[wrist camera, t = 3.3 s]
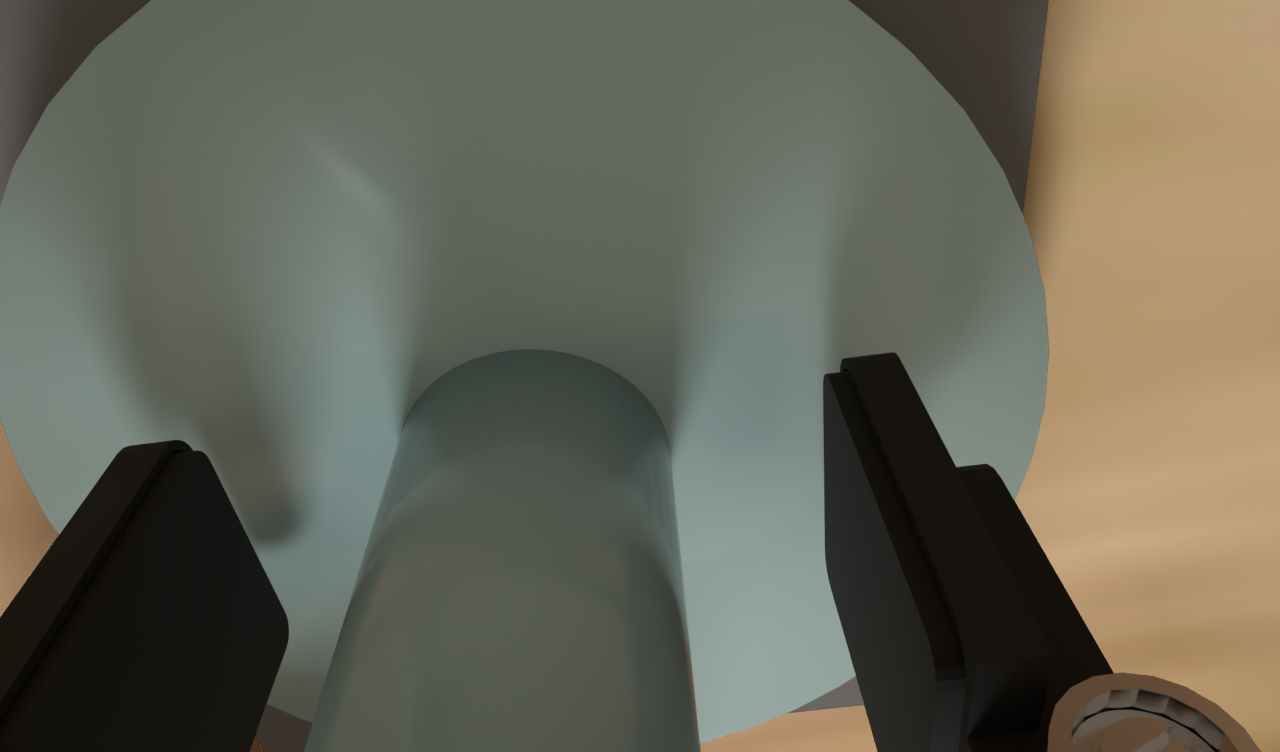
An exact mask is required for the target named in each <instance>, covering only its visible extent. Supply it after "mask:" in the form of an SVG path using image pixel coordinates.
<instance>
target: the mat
mask: <svg viewBox="0 0 1280 752" xmlns="http://www.w3.org/2000/svg"><path fill="white" fill-rule="evenodd" d="M150 1H151V0H0V205H1V202H2V199H3V196H4V193H5V190H6V187H7V184H8V181H9V178H10V175H11V172H12V169H13V166H14V165H15V163H16V161H17V159H18V157H19V156H20V154H21V152H22V150H23V148H24V147H25V145H26V143H27V141H28V139H29V138H30V136H31V134H32V132H33V130H34V129H35V127H36V125H37V123H38V121H39V120H40V118H41V116H42V114H43V112H44V111H45V109H46V107H47V105H48V104H49V103H50V102H51V100H52V99H53V98H54V97H55V96H56V94H57V93H58V92H59V91H60V90H61V88H62V87H63V86H64V85H65V83H66V82H67V81H68V80H69V79H70V77H71V76H72V75H73V74H74V73H75V71H76V70H77V69H78V68H79V67H80V65H81V64H82V63H83V62H84V61H85V59H86V58H87V57H88V56H89V55H90V53H91V52H92V51H93V50H94V48H95V47H96V46H97V45H99V44H100V43H101V42H102V41H103V40H105V39H106V38H107V37H108V36H109V35H111V34H112V33H113V32H114V31H115V30H116V29H118V28H119V27H120V26H121V25H122V24H124V23H125V22H126V21H127V20H128V19H130V18H131V17H132V16H133V15H134V14H135V13H137V12H138V11H139V10H140V9H141V8H143V7H144V6H145V5H146V4H147V3H149V2H150ZM851 1H852V2H853V3H854V4H856V5H857V6H858V7H859V8H861V9H862V10H863V11H864V12H865V13H867V14H868V15H869V16H870V17H872V18H873V19H874V20H875V21H877V22H878V23H879V24H880V25H881V26H882V27H884V28H885V29H886V30H887V31H888V32H889V33H890V34H891V35H893V36H894V37H895V38H896V39H897V40H898V41H899V42H900V43H902V44H903V45H904V46H905V47H906V48H907V49H908V50H909V51H911V52H912V53H913V54H914V55H915V57H916V58H917V59H918V60H919V61H920V62H921V63H922V64H923V65H924V66H925V68H926V69H927V70H928V71H929V72H930V73H931V74H932V75H933V76H934V77H935V79H936V80H937V81H938V82H939V83H940V84H941V85H942V86H943V87H944V88H945V90H946V91H947V92H948V93H949V94H950V95H951V96H952V97H953V98H954V100H955V101H956V102H957V103H958V104H959V105H960V106H961V107H962V108H963V109H964V111H965V112H966V114H967V115H968V117H969V118H970V120H971V121H972V123H973V125H974V126H975V128H976V129H977V131H978V132H979V134H980V135H981V137H982V138H983V140H984V141H985V143H986V145H987V146H988V148H989V149H990V151H991V152H992V154H993V155H994V157H995V158H996V160H997V162H998V163H999V165H1000V166H1001V168H1002V169H1003V171H1004V173H1005V176H1006V178H1007V180H1008V183H1009V185H1010V187H1011V189H1012V192H1013V194H1014V196H1015V199H1016V201H1017V203H1018V206H1019V208H1020V210H1021V212H1022V214H1023V206H1024V197H1025V189H1026V181H1027V173H1028V165H1029V157H1030V148H1031V140H1032V132H1033V124H1034V116H1035V108H1036V99H1037V91H1038V83H1039V75H1040V67H1041V59H1042V50H1043V42H1044V34H1045V26H1046V18H1047V10H1048V2H1049V0H851ZM858 705H864V702H863V699H862V695H861V692H860V688H859V685H858V681H857V678H856V676H855V677H853V678H852V679H850V680H849V681H847V682H846V683H844V684H843V685H841V686H839V687H837V688H836V689H834V690H832V691H830V692H828V693H826V694H824V695H822V696H820V697H818V698H816V699H815V700H813V701H811V702H809V703H807V704H805V705H803V706H801V707H799V708H797V709H795V710H793V711H790V712H788V713H794V712H803V711H812V710H821V709H830V708H840V707H849V706H858ZM311 726H312V723H311V722H308V721H306V720H303V719H300V718H298V717H296V716H293V715H291V714H289V713H287V712H284V711H282V710H280V709H278V708H275V707H273V706H271V705H269V704H266V707H265V710H264V712H263V715H262V718H261V721H260V723H259V726H258V729H257V732H256V737H257V739H258V740H259V742H260V744H261V746H262V747H263V749H264V751H265V752H304V749H305V746H306V743H307V740H308V736H309V733H310V730H311Z"/></svg>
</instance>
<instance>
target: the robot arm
mask: <svg viewBox="0 0 1280 752" xmlns="http://www.w3.org/2000/svg"><path fill="white" fill-rule="evenodd" d="M823 430H824V523H825V560H826V568H827V574H828V579H829V583H830V587H831V591H832V594H833V598H834V601H835V605H836V608H837V612H838V615H839V619H840V622H841V626H842V629H843V633H844V636H845V639H846V643H847V646H848V650H849V653H850V657H851V660H852V664H853V667H854V671H855V674H856V678H857V681H858V685H859V688H860V692H861V695H862V699H863V702H864V706H865V709H866V713H867V716H868V720H869V723H870V727H871V730H872V734H873V737H874V741H875V744H876V748H877V751H878V752H1261V751H1260V749H1259V748H1258V747H1257V745H1256V744H1255V742H1254V741H1253V740H1252V738H1251V737H1250V735H1249V734H1248V733H1247V731H1246V730H1245V728H1243V727H1242V726H1241V725H1240V724H1239V723H1238V722H1237V721H1235V720H1234V719H1233V718H1232V717H1231V716H1230V715H1229V714H1227V713H1226V712H1225V711H1224V710H1223V709H1222V708H1221V707H1219V706H1218V705H1217V704H1215V703H1213V702H1212V701H1210V700H1208V699H1206V698H1205V697H1203V696H1201V695H1199V694H1198V693H1196V692H1194V691H1192V690H1191V689H1189V688H1187V687H1185V686H1182V685H1179V684H1176V683H1173V682H1170V681H1167V680H1164V679H1161V678H1158V677H1155V676H1148V675H1139V674H1131V673H1115V674H1114V673H1113V671H1112V669H1111V668H1110V666H1109V664H1108V662H1107V661H1106V659H1105V657H1104V655H1103V654H1102V652H1101V650H1100V648H1099V647H1098V645H1097V643H1096V642H1095V640H1094V638H1093V636H1092V635H1091V633H1090V631H1089V629H1088V628H1087V626H1086V624H1085V622H1084V621H1083V619H1082V617H1081V615H1080V614H1079V612H1078V610H1077V609H1076V607H1075V605H1074V603H1073V602H1072V600H1071V598H1070V596H1069V595H1068V593H1067V591H1066V589H1065V588H1064V586H1063V584H1062V582H1061V581H1060V579H1059V577H1058V576H1057V574H1056V572H1055V570H1054V569H1053V567H1052V565H1051V563H1050V562H1049V560H1048V558H1047V556H1046V555H1045V553H1044V551H1043V549H1042V548H1041V546H1040V544H1039V543H1038V541H1037V539H1036V537H1035V536H1034V534H1033V532H1032V530H1031V529H1030V527H1029V525H1028V523H1027V522H1026V520H1025V518H1024V517H1023V515H1022V513H1021V511H1020V510H1019V508H1018V506H1017V504H1016V503H1015V501H1014V499H1013V497H1012V496H1011V494H1010V492H1009V490H1008V489H1007V487H1006V485H1005V484H1004V482H1003V480H1002V478H1001V477H1000V476H999V474H998V473H997V471H996V470H995V469H994V468H993V467H992V466H990V465H988V464H978V465H970V466H961V467H956V466H955V464H954V462H953V460H952V458H951V456H950V454H949V452H948V450H947V448H946V446H945V444H944V442H943V441H942V439H941V437H940V435H939V433H938V431H937V429H936V427H935V425H934V423H933V421H932V419H931V417H930V416H929V414H928V412H927V410H926V408H925V406H924V404H923V402H922V400H921V398H920V396H919V394H918V392H917V390H916V389H915V387H914V385H913V383H912V381H911V379H910V377H909V375H908V373H907V371H906V369H905V367H904V365H903V364H902V362H901V360H900V358H899V357H898V355H897V354H896V353H894V352H890V353H882V354H874V355H866V356H857V357H849V358H843V359H842V361H841V365H840V372H837V373H828V374H825V375H824V379H823ZM288 639H289V624H288V619H287V616H286V613H285V611H284V609H283V607H282V605H281V603H280V601H279V599H278V596H277V594H276V592H275V590H274V588H273V586H272V584H271V582H270V580H269V578H268V576H267V574H266V572H265V570H264V568H263V566H262V564H261V562H260V560H259V558H258V556H257V554H256V552H255V550H254V548H253V546H252V544H251V542H250V540H249V538H248V536H247V534H246V532H245V530H244V528H243V526H242V524H241V522H240V520H239V518H238V516H237V514H236V512H235V510H234V508H233V506H232V504H231V502H230V500H229V497H228V495H227V493H226V491H225V489H224V487H223V485H222V483H221V481H220V479H219V477H218V475H217V473H216V471H215V469H214V467H213V465H212V463H211V461H210V460H209V458H208V456H207V455H206V454H205V453H203V452H202V451H198V450H196V451H193V450H192V448H191V447H190V446H189V445H188V444H187V443H186V442H184V441H181V440H171V441H162V442H154V443H146V444H138V445H130V446H127V447H124V448H123V449H122V450H121V451H119V452H118V453H117V455H116V456H115V457H114V459H113V460H112V462H111V463H110V464H109V466H108V467H107V469H106V470H105V472H104V473H103V474H102V476H101V477H100V479H99V480H98V481H97V483H96V484H95V486H94V487H93V488H92V490H91V491H90V493H89V494H88V495H87V497H86V498H85V500H84V501H83V502H82V504H81V505H80V507H79V508H78V509H77V511H76V512H75V514H74V515H73V516H72V518H71V519H70V521H69V522H68V523H67V525H66V526H65V528H64V529H63V530H62V532H61V533H60V535H59V536H58V537H57V539H56V540H55V542H54V543H53V544H52V546H51V547H50V549H49V550H48V551H47V553H46V554H45V556H44V557H43V558H42V560H41V561H40V563H39V564H38V565H37V567H36V568H35V570H34V571H33V572H32V574H31V575H30V577H29V578H28V580H27V581H26V582H25V584H24V585H23V587H22V588H21V589H20V591H19V592H18V594H17V595H16V596H15V598H14V599H13V601H12V602H11V603H10V605H9V606H8V608H7V609H6V610H5V612H4V613H3V615H2V616H1V617H0V752H249V751H250V749H251V746H252V743H253V740H254V737H255V735H256V732H257V729H258V726H259V723H260V721H261V718H262V715H263V712H264V710H265V707H266V704H267V701H268V698H269V696H270V693H271V690H272V687H273V684H274V682H275V679H276V676H277V673H278V671H279V668H280V665H281V662H282V659H283V657H284V654H285V651H286V648H287V644H288Z"/></svg>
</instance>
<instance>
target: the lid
mask: <svg viewBox="0 0 1280 752" xmlns="http://www.w3.org/2000/svg"><path fill="white" fill-rule="evenodd" d="M890 352H894V353H896V354H897V355H898V357H899V358H900V360H901V362H902V364H903V365H904V367H905V369H906V371H907V373H908V375H909V377H910V379H911V381H912V383H913V385H914V387H915V389H916V390H917V392H918V394H919V396H920V398H921V400H922V402H923V404H924V406H925V408H926V410H927V412H928V414H929V416H930V417H931V419H932V421H933V423H934V425H935V427H936V429H937V431H938V433H939V435H940V437H941V439H942V441H943V442H944V444H945V446H946V448H947V450H948V452H949V454H950V456H951V458H952V460H953V462H954V464H955V466H956V467H961V466H970V465H978V464H988V465H990V466H992V467H993V468H994V469H995V470H996V471H997V473H998V474H999V476H1000V477H1001V478H1002V480H1003V482H1004V484H1005V485H1006V487H1007V489H1008V490H1009V492H1010V494H1011V496H1012V497H1013V499H1014V501H1015V498H1016V496H1017V494H1018V491H1019V489H1020V486H1021V484H1022V481H1023V479H1024V476H1025V474H1026V472H1027V469H1028V467H1029V464H1030V462H1031V459H1032V456H1033V452H1034V448H1035V443H1036V439H1037V435H1038V431H1039V427H1040V423H1041V419H1042V415H1043V411H1044V407H1045V396H1046V384H1047V372H1048V360H1049V340H1048V327H1047V314H1046V301H1045V291H1044V287H1043V283H1042V279H1041V275H1040V271H1039V267H1038V263H1037V259H1036V255H1035V251H1034V247H1033V243H1032V239H1031V234H1030V231H1029V228H1028V226H1027V224H1026V222H1025V219H1024V217H1023V215H1022V212H1021V210H1020V208H1019V206H1018V203H1017V201H1016V199H1015V196H1014V194H1013V192H1012V189H1011V187H1010V185H1009V183H1008V180H1007V178H1006V176H1005V173H1004V171H1003V169H1002V168H1001V166H1000V165H999V163H998V162H997V160H996V158H995V157H994V155H993V154H992V152H991V151H990V149H989V148H988V146H987V145H986V143H985V141H984V140H983V138H982V137H981V135H980V134H979V132H978V131H977V129H976V128H975V126H974V125H973V123H972V121H971V120H970V118H969V117H968V115H967V114H966V112H965V111H964V109H963V108H962V107H961V106H960V105H959V104H958V103H957V102H956V101H955V100H954V98H953V97H952V96H951V95H950V94H949V93H948V92H947V91H946V90H945V88H944V87H943V86H942V85H941V84H940V83H939V82H938V81H937V80H936V79H935V77H934V76H933V75H932V74H931V73H930V72H929V71H928V70H927V69H926V68H925V66H924V65H923V64H922V63H921V62H920V61H919V60H918V59H917V58H916V57H915V55H914V54H913V53H912V52H911V51H909V50H908V49H907V48H906V47H905V46H904V45H903V44H902V43H900V42H899V41H898V40H897V39H896V38H895V37H894V36H893V35H891V34H890V33H889V32H888V31H887V30H886V29H885V28H884V27H882V26H881V25H880V24H879V23H878V22H877V21H875V20H874V19H873V18H872V17H870V16H869V15H868V14H867V13H865V12H864V11H863V10H862V9H861V8H859V7H858V6H857V5H856V4H854V3H853V2H852V1H851V0H151V1H150V2H149V3H147V4H146V5H145V6H144V7H143V8H141V9H140V10H139V11H138V12H137V13H135V14H134V15H133V16H132V17H131V18H130V19H128V20H127V21H126V22H125V23H124V24H122V25H121V26H120V27H119V28H118V29H116V30H115V31H114V32H113V33H112V34H111V35H109V36H108V37H107V38H106V39H105V40H103V41H102V42H101V43H100V44H99V45H97V46H96V47H95V48H94V50H93V51H92V52H91V53H90V55H89V56H88V57H87V58H86V59H85V61H84V62H83V63H82V64H81V65H80V67H79V68H78V69H77V70H76V71H75V73H74V74H73V75H72V76H71V77H70V79H69V80H68V81H67V82H66V83H65V85H64V86H63V87H62V88H61V90H60V91H59V92H58V93H57V94H56V96H55V97H54V98H53V99H52V100H51V102H50V103H49V104H48V105H47V107H46V109H45V111H44V112H43V114H42V116H41V118H40V120H39V121H38V123H37V125H36V127H35V129H34V130H33V132H32V134H31V136H30V138H29V139H28V141H27V143H26V145H25V147H24V148H23V150H22V152H21V154H20V156H19V157H18V159H17V161H16V163H15V165H14V166H13V169H12V172H11V175H10V178H9V181H8V184H7V187H6V190H5V193H4V196H3V199H2V202H1V205H0V420H1V422H2V425H3V427H4V430H5V433H6V435H7V438H8V441H9V443H10V446H11V448H12V451H13V454H14V456H15V459H16V462H17V464H18V467H19V469H20V471H21V473H22V474H23V476H24V478H25V480H26V482H27V483H28V485H29V487H30V489H31V491H32V492H33V494H34V496H35V498H36V500H37V501H38V503H39V505H40V507H41V509H42V511H43V512H44V514H45V516H46V518H47V519H48V521H49V522H50V523H51V525H52V526H53V527H54V529H55V530H56V531H57V533H58V534H59V535H60V533H61V532H62V530H63V529H64V528H65V526H66V525H67V523H68V522H69V521H70V519H71V518H72V516H73V515H74V514H75V512H76V511H77V509H78V508H79V507H80V505H81V504H82V502H83V501H84V500H85V498H86V497H87V495H88V494H89V493H90V491H91V490H92V488H93V487H94V486H95V484H96V483H97V481H98V480H99V479H100V477H101V476H102V474H103V473H104V472H105V470H106V469H107V467H108V466H109V464H110V463H111V462H112V460H113V459H114V457H115V456H116V455H117V453H118V452H119V451H121V450H122V449H123V448H124V447H127V446H130V445H138V444H146V443H154V442H162V441H171V440H181V441H184V442H186V443H187V444H188V445H189V446H190V447H191V448H192V450H193V451H196V450H198V451H202V452H203V453H205V454H206V455H207V456H208V458H209V460H210V461H211V463H212V465H213V467H214V469H215V471H216V473H217V475H218V477H219V479H220V481H221V483H222V485H223V487H224V489H225V491H226V493H227V495H228V497H229V500H230V502H231V504H232V506H233V508H234V510H235V512H236V514H237V516H238V518H239V520H240V522H241V524H242V526H243V528H244V530H245V532H246V534H247V536H248V538H249V540H250V542H251V544H252V546H253V548H254V550H255V552H256V554H257V556H258V558H259V560H260V562H261V564H262V566H263V568H264V570H265V572H266V574H267V576H268V578H269V580H270V582H271V584H272V586H273V588H274V590H275V592H276V594H277V596H278V599H279V601H280V603H281V605H282V607H283V609H284V611H285V613H286V616H287V619H288V624H289V639H288V644H287V648H286V651H285V654H284V657H283V659H282V662H281V665H280V668H279V671H278V673H277V676H276V679H275V682H274V684H273V687H272V690H271V693H270V696H269V698H268V701H267V704H269V705H271V706H273V707H275V708H278V709H280V710H282V711H284V712H287V713H289V714H291V715H293V716H296V717H298V718H300V719H303V720H306V721H308V722H311V723H312V726H311V730H310V733H309V736H308V740H307V743H306V746H305V749H304V752H701V751H700V743H704V742H708V741H711V740H714V739H717V738H720V737H723V736H727V735H730V734H733V733H736V732H739V731H743V730H746V729H749V728H752V727H754V726H757V725H759V724H761V723H764V722H766V721H769V720H771V719H773V718H776V717H778V716H781V715H783V714H786V713H788V712H790V711H793V710H795V709H797V708H799V707H801V706H803V705H805V704H807V703H809V702H811V701H813V700H815V699H816V698H818V697H820V696H822V695H824V694H826V693H828V692H830V691H832V690H834V689H836V688H837V687H839V686H841V685H843V684H844V683H846V682H847V681H849V680H850V679H852V678H853V677H855V676H856V674H855V671H854V667H853V664H852V660H851V657H850V653H849V650H848V646H847V643H846V639H845V636H844V633H843V629H842V626H841V622H840V619H839V615H838V612H837V608H836V605H835V601H834V598H833V594H832V591H831V587H830V583H829V579H828V574H827V568H826V560H825V523H824V430H823V379H824V375H825V374H828V373H837V372H840V365H841V361H842V359H843V358H849V357H857V356H866V355H874V354H882V353H890Z"/></svg>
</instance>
